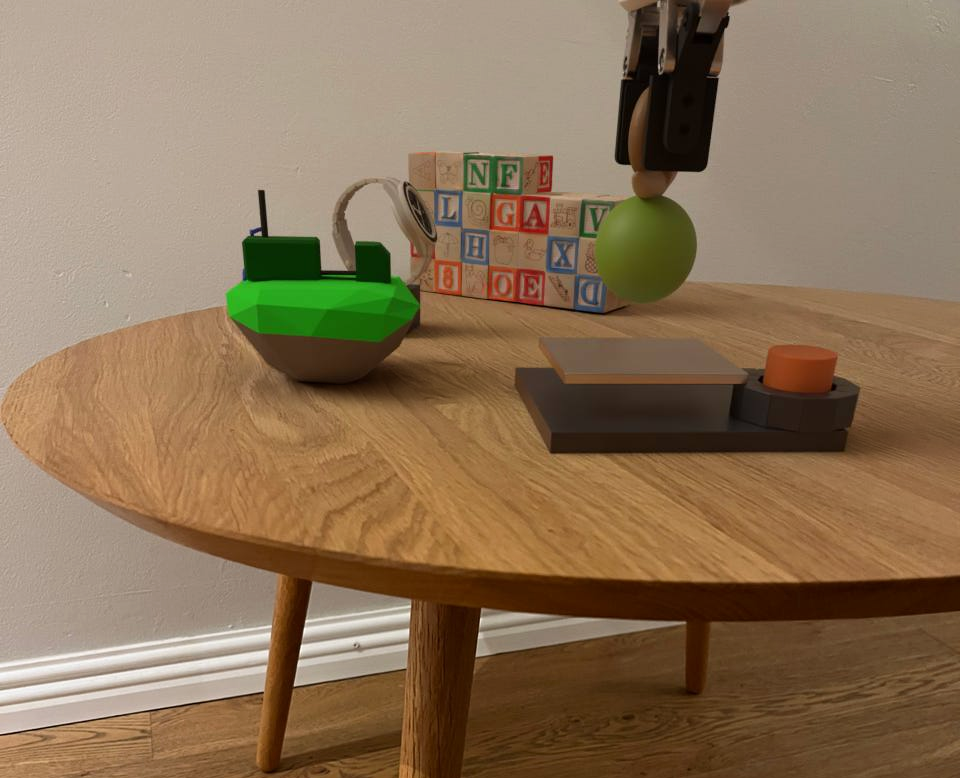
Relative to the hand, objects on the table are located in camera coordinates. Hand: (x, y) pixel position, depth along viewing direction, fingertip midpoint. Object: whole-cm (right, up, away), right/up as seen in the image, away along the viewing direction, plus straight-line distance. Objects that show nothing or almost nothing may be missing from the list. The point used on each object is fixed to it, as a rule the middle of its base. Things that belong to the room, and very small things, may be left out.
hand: (658, 163), depth 48 cm
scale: (+2, -12, +7) cm, 13 cm away
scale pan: (0, -9, +5) cm, 10 cm away
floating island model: (-19, -8, +13) cm, 24 cm away
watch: (-17, 0, +27) cm, 32 cm away
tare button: (+8, -11, +3) cm, 14 cm away
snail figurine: (0, -6, +3) cm, 7 cm away
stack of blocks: (-6, +8, +42) cm, 43 cm away
